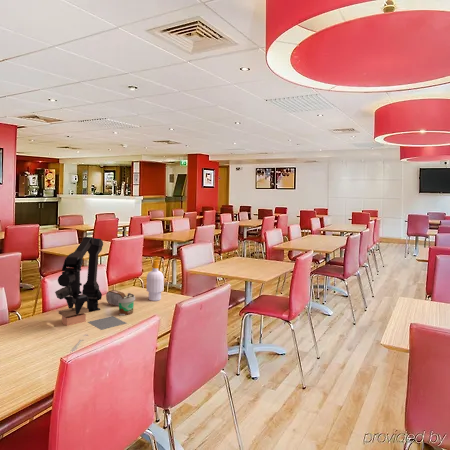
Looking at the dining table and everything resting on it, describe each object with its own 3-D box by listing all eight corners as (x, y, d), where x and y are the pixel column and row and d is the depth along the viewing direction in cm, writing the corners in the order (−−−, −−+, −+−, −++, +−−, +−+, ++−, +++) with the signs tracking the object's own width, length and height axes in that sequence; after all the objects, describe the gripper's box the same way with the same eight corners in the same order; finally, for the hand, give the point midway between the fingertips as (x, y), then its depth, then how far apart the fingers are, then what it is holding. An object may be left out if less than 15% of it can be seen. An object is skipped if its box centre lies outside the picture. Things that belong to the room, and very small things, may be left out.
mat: (87, 323, 197) (87, 322, 197) (112, 317, 207) (112, 316, 207) (101, 331, 187) (101, 329, 187) (127, 324, 197) (127, 323, 197)
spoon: (91, 337, 181) (91, 334, 180) (73, 357, 160) (73, 353, 160) (82, 337, 181) (82, 333, 181) (62, 356, 160) (62, 353, 160)
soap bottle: (157, 302, 235) (158, 262, 233) (142, 300, 239) (143, 261, 236) (166, 298, 245) (167, 259, 242) (151, 296, 248) (152, 258, 246)
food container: (129, 318, 206) (129, 300, 205) (118, 317, 207) (118, 298, 206) (138, 311, 218) (139, 293, 217) (128, 310, 219) (128, 292, 218)
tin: (127, 307, 225) (127, 293, 224) (123, 308, 222) (123, 294, 221) (109, 302, 233) (109, 288, 232) (105, 303, 230) (105, 289, 229)
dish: (62, 324, 195) (61, 315, 194) (80, 320, 201) (80, 311, 201) (66, 327, 191) (66, 318, 190) (85, 323, 198) (85, 314, 197)
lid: (58, 313, 194) (58, 309, 193) (82, 308, 202) (82, 304, 202) (64, 317, 189) (64, 312, 189) (88, 312, 197) (88, 307, 197)
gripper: (49, 280, 195) (49, 310, 196) (65, 288, 182) (66, 320, 183) (71, 276, 203) (71, 306, 204) (88, 284, 190) (88, 315, 191)
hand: (73, 312), depth 196 cm, fingers closed on lid, 7 cm apart
